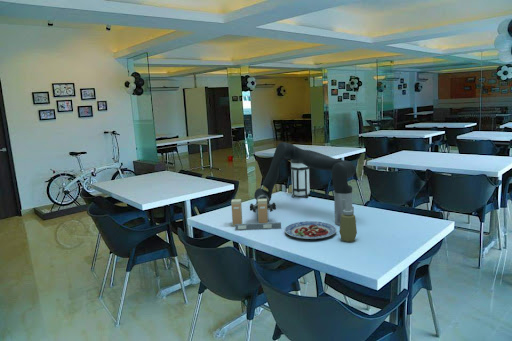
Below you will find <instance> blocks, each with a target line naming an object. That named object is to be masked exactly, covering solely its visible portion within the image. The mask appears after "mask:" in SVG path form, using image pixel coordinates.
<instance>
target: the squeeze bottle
mask: <svg viewBox="0 0 512 341" xmlns="http://www.w3.org/2000/svg"><path fill="white" fill-rule="evenodd" d="M357 230H358V229H357V220H356V215H355V214H354V215H353V210H351V209H350V204H349V203H347V204H346V208H345V210H343V214H342V215H341V220H340V225H339V234H340V237H341V238H340V239H341V241H342V242H347V243H348V242H350V243H351V242H354V241H355V239H356V237H357V234H358V231H357Z"/></svg>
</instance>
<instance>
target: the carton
mask: <svg viewBox="0 0 512 341" xmlns="http://www.w3.org/2000/svg"><path fill="white" fill-rule="evenodd" d="M268 211H269V210H267V199H258V211H257V217H258V218H257V219H258V223H269V216H268Z"/></svg>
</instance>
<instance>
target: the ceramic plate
mask: <svg viewBox="0 0 512 341" xmlns="http://www.w3.org/2000/svg"><path fill="white" fill-rule="evenodd" d="M284 232H285V234H287V235H289V236H290V237H293V238H297V239H304V240H309V239H310V240H317V239H325V238H328V237H330V236H333V235H335V234H336V233H337V227H336V226H334V225H333V224H331V223H327V222H324V221H323V222H322V221H314V220H313V221H312V220H309V221H308V220H307V221H298V222H294V223H291V224H289V225H286V227H285V228H284Z"/></svg>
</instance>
